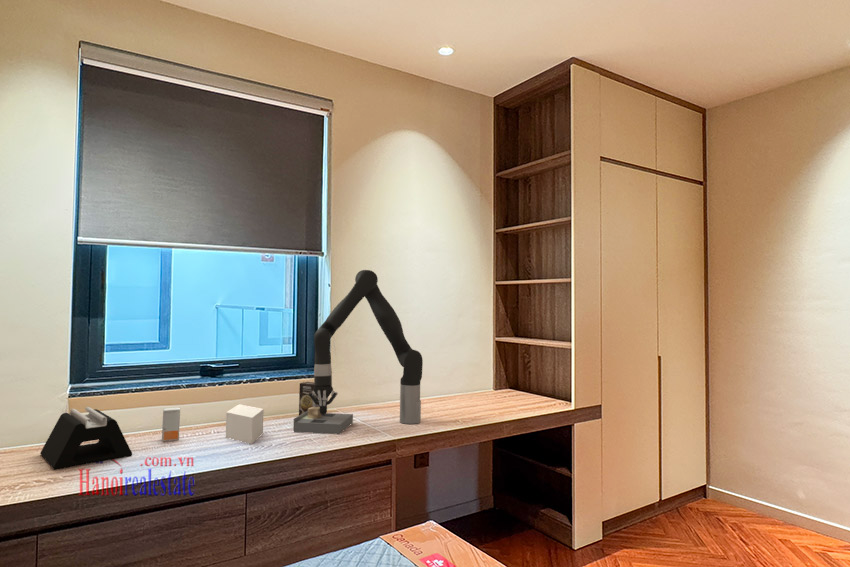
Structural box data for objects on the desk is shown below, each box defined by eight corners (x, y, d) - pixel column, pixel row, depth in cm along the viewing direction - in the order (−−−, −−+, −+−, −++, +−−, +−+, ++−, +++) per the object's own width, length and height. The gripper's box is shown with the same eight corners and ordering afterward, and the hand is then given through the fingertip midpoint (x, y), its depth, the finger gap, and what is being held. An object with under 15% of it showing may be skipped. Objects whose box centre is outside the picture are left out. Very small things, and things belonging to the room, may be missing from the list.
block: (321, 416, 225) (321, 407, 225) (317, 418, 220) (317, 409, 220) (311, 416, 225) (311, 406, 226) (307, 418, 221) (307, 408, 221)
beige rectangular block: (231, 447, 190) (232, 419, 190) (220, 430, 215) (221, 405, 216) (270, 442, 197) (271, 415, 198) (255, 426, 222) (256, 402, 223)
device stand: (53, 471, 161) (55, 423, 162) (40, 455, 177) (42, 412, 178) (132, 456, 177) (133, 413, 178) (113, 443, 193) (115, 403, 194)
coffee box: (298, 417, 240) (298, 383, 240) (306, 415, 246) (306, 381, 246) (314, 419, 236) (315, 384, 237) (322, 416, 242) (322, 382, 243)
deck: (352, 423, 230) (353, 410, 230) (339, 434, 210) (339, 420, 210) (310, 421, 233) (310, 409, 233) (293, 431, 213) (293, 418, 213)
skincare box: (161, 441, 195) (162, 410, 196) (161, 439, 199) (162, 408, 200) (179, 440, 198) (180, 409, 199) (179, 437, 202) (180, 407, 202)
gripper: (305, 375, 220) (305, 416, 219) (335, 375, 218) (335, 416, 217) (311, 373, 227) (311, 412, 226) (340, 373, 225) (340, 412, 225)
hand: (323, 414), depth 222 cm, fingers closed
